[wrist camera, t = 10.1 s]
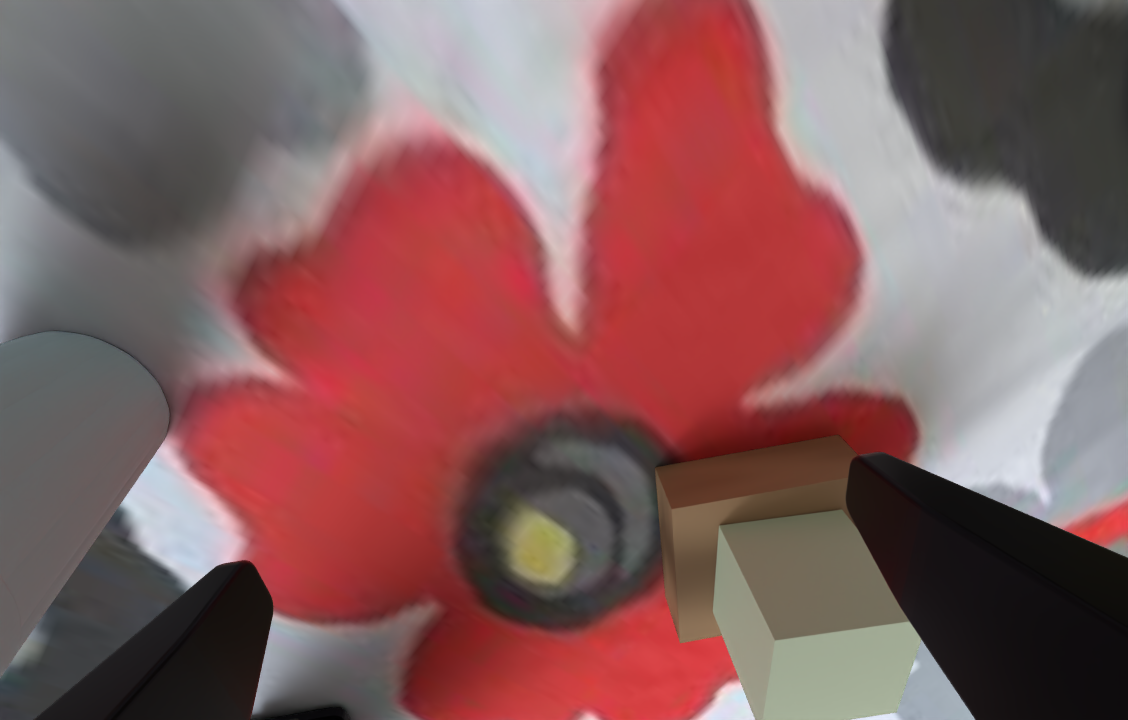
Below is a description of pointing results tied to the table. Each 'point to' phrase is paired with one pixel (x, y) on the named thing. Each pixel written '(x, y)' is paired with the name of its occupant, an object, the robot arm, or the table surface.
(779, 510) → the base brick
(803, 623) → the sage cube
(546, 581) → the table surface
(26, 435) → the cup
